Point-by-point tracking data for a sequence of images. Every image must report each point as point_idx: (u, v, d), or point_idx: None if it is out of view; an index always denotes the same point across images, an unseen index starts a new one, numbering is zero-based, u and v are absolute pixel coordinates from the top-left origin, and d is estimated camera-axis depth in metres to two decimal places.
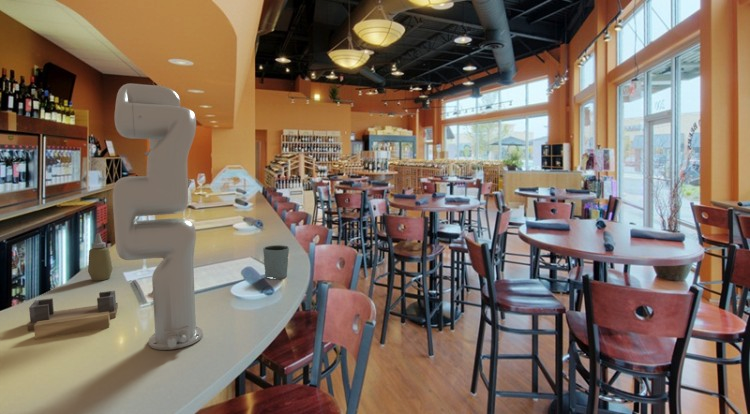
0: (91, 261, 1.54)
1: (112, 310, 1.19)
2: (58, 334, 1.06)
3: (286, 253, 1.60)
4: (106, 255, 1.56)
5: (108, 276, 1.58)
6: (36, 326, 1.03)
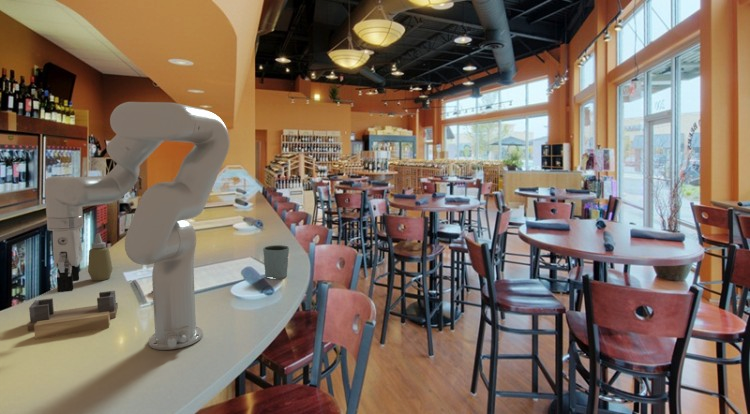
0: (91, 261, 1.54)
1: (112, 310, 1.19)
2: (58, 334, 1.06)
3: (286, 253, 1.60)
4: (106, 255, 1.56)
5: (108, 276, 1.58)
6: (36, 326, 1.04)
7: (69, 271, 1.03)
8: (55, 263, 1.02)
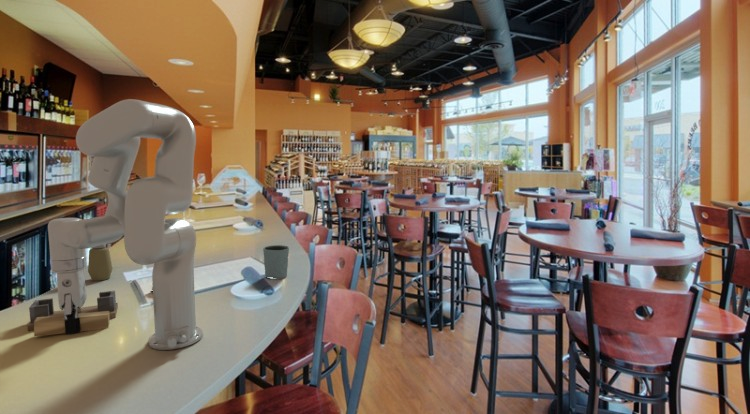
0: (91, 261, 1.54)
1: (112, 310, 1.19)
2: (57, 331, 1.06)
3: (286, 253, 1.60)
4: (106, 255, 1.56)
5: (108, 276, 1.58)
6: (36, 322, 1.03)
7: (76, 314, 1.06)
8: (60, 305, 1.03)
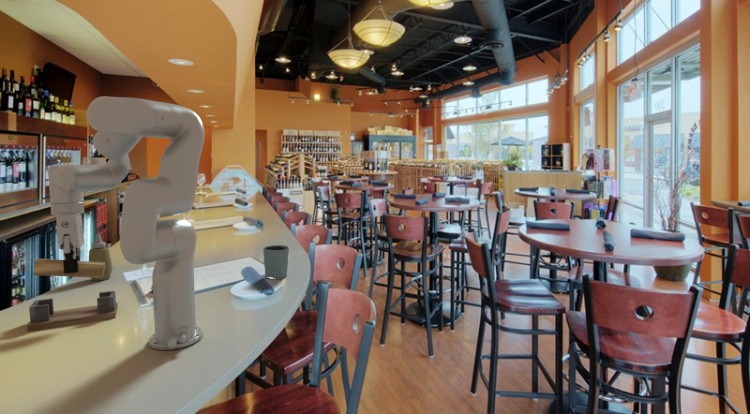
0: (91, 261, 1.54)
1: (112, 310, 1.19)
2: (55, 273, 1.13)
3: (286, 253, 1.60)
4: (106, 255, 1.56)
5: (108, 276, 1.58)
6: (37, 262, 1.11)
7: (74, 255, 1.14)
8: (59, 245, 1.10)
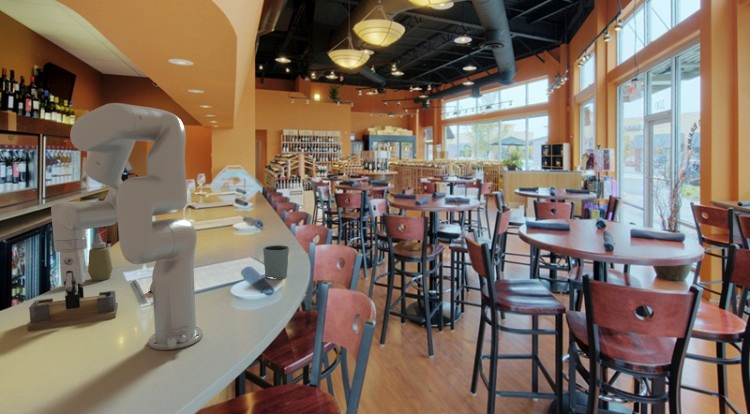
0: (91, 261, 1.54)
1: (112, 310, 1.19)
2: (58, 315, 1.14)
3: (286, 253, 1.60)
4: (106, 255, 1.56)
5: (108, 276, 1.58)
6: None
7: (76, 290, 1.13)
8: (62, 281, 1.11)
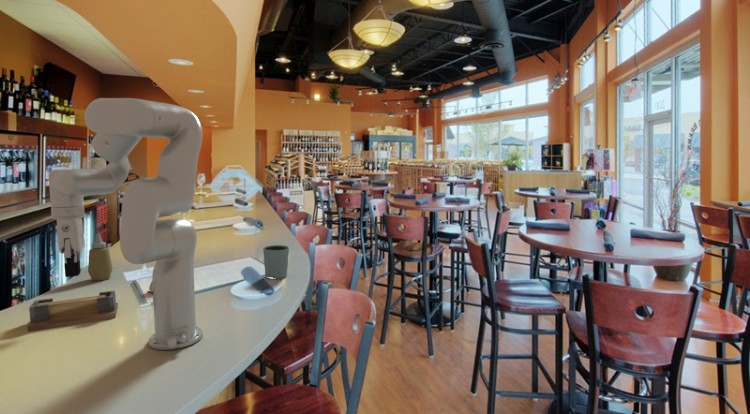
0: (91, 261, 1.54)
1: (112, 310, 1.19)
2: (58, 315, 1.14)
3: (286, 253, 1.60)
4: (106, 255, 1.56)
5: (108, 276, 1.58)
6: None
7: (75, 259, 1.14)
8: (60, 249, 1.10)
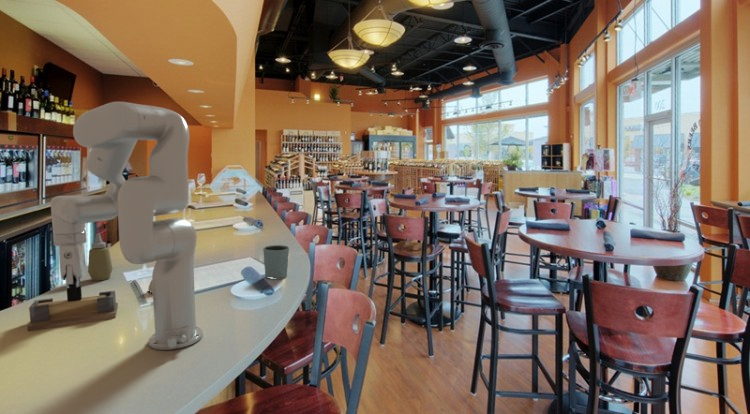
0: (91, 261, 1.54)
1: (112, 310, 1.19)
2: (58, 315, 1.14)
3: (286, 253, 1.60)
4: (106, 255, 1.56)
5: (108, 276, 1.58)
6: None
7: (77, 284, 1.16)
8: (62, 275, 1.11)
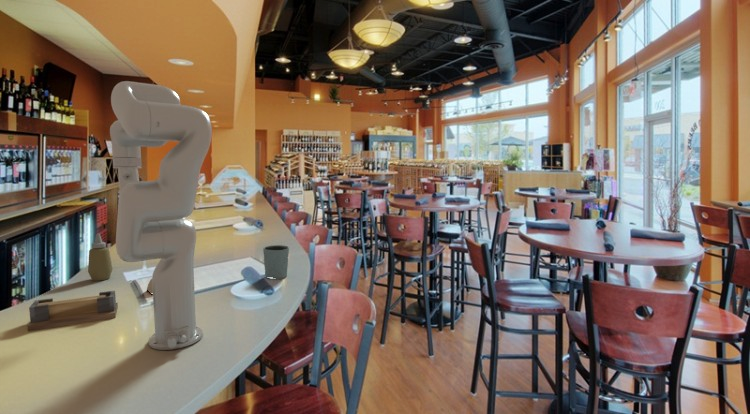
0: (91, 261, 1.54)
1: (112, 310, 1.19)
2: (58, 315, 1.14)
3: (286, 253, 1.60)
4: (106, 255, 1.56)
5: (108, 276, 1.58)
6: None
7: None
8: None
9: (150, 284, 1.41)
